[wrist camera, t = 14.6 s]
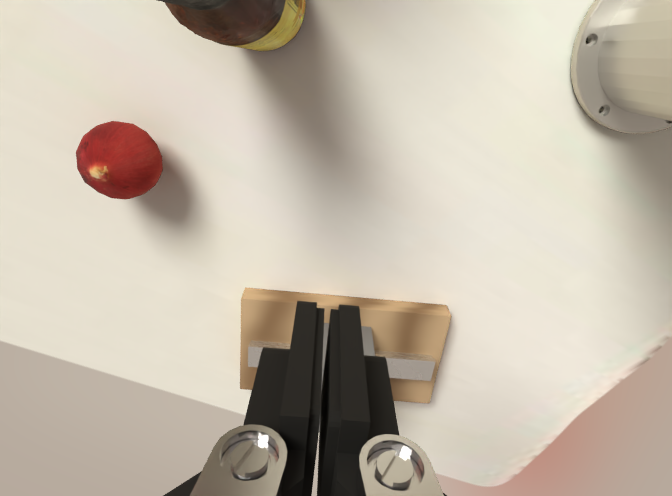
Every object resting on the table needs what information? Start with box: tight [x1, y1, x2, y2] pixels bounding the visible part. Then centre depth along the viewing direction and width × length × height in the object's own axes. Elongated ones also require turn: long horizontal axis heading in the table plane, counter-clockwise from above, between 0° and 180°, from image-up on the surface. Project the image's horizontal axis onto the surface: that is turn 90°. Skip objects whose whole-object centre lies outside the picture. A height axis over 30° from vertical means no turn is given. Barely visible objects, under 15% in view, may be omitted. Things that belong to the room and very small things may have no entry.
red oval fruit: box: [76, 121, 163, 199], centre depth 33 cm, size 6×6×8 cm
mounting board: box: [240, 288, 451, 403], centre depth 44 cm, size 20×11×2 cm, turn 84°
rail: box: [248, 340, 435, 381], centre depth 42 cm, size 18×2×2 cm, turn 84°
